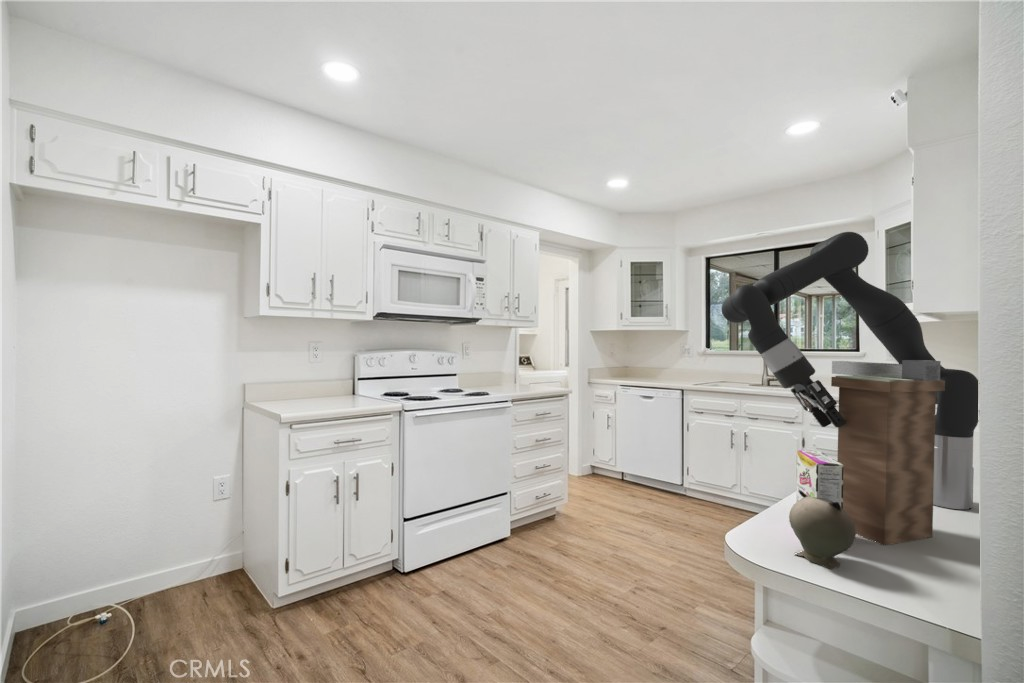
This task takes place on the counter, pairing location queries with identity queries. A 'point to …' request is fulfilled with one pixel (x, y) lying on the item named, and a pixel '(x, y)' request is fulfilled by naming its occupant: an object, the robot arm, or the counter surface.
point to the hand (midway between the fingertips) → (834, 425)
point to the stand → (888, 455)
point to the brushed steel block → (891, 369)
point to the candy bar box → (819, 476)
